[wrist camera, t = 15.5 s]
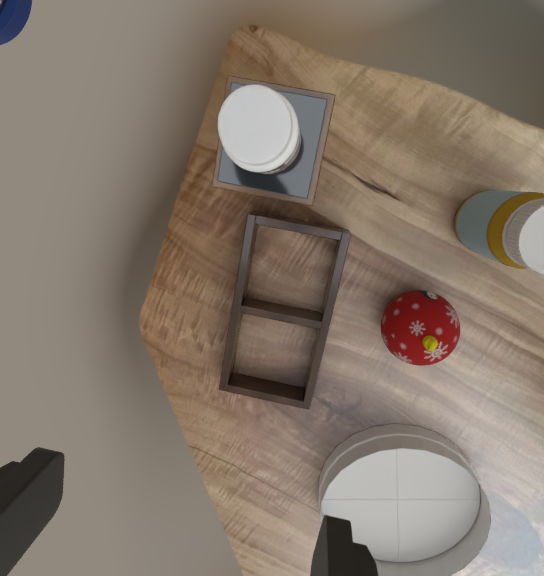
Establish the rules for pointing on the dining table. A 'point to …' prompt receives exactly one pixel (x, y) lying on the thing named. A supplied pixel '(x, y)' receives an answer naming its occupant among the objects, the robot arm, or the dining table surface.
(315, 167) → the riser
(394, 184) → the dining table surface
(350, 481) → the dish
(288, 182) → the coaster
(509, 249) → the bottle
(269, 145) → the pill bottle
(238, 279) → the rack
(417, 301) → the christmas ornament
